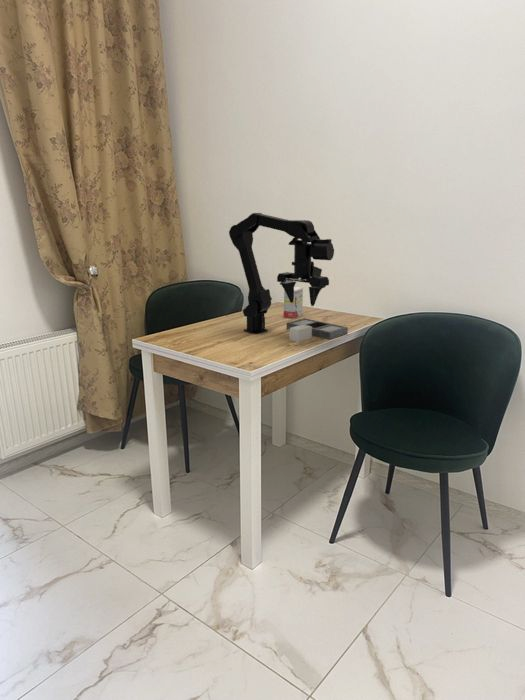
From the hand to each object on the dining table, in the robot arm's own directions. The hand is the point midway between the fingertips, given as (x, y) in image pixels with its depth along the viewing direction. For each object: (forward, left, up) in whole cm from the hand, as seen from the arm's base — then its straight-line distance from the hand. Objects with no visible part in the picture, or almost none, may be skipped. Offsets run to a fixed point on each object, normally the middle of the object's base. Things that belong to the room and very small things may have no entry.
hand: (302, 304), depth 172 cm
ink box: (+24, +25, -12) cm, 37 cm away
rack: (+11, +2, -12) cm, 16 cm away
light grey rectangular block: (-1, -1, -12) cm, 12 cm away
